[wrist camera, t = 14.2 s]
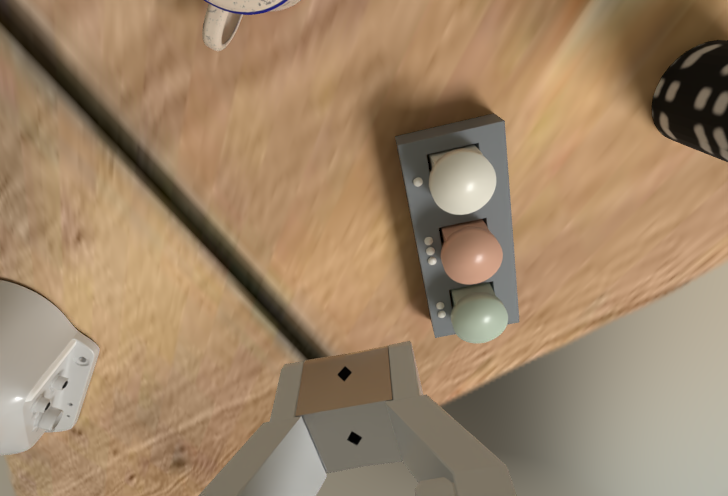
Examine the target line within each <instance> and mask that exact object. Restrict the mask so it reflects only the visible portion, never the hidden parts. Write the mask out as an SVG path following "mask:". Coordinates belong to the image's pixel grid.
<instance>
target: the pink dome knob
mask: <svg viewBox="0 0 728 496" xmlns="http://www.w3.org/2000/svg"><path fill="white" fill-rule="evenodd" d="M440 232H441V238H442V244H443V246H442V249H441V261H442V264H443V267H444V270H445V272H446V273H447V275H448V276H449V277H450V278H451V279H452V280H454V281H456V282H458V283H461V284H477V283H481V282H483V281H485V280H487V279H489V278H490V277H492V276H493V275H494V274H495V273H496V272H497V270H498V269H499V267H500V265H501V263H502V259H503V252H502V248H501V246H500V244H499V242H498V241H497V239H496V237H495V236H494V235H493V234H492V233H491V232H490V231H489V229H488V227H487V226H486V224H485V223H484V221H483V219H478V220H473V221H469V222H464V223H459V224H454V225H450V226H445V227H440Z"/></svg>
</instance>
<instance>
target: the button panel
mask: <svg viewBox="0 0 728 496" xmlns="http://www.w3.org/2000/svg"><path fill="white" fill-rule="evenodd" d="M395 139H396V144H397V149H398V154H399V159H400V164H401V169H402V174H403V180H404V185H405V190H406V195H407V200H408V205H409V210H410V215H411V220H412V226H413V231H414V236H415V241H416V246H417V251H418V256H419V261H420V266H421V272H422V277H423V282H424V287H425V292H426V297H427V302H428V307H429V313H430V318H431V322H432V326H433V331H434V335H435V338H437V337H442V336H448V335H453V334H456V333H455V331H454V328H453V325H452V322H451V311H452V309H453V307H451V301H450V294H449V290H451V289H456V288H461V287H466V286H471V285H477V284H482V283H487V282H489V283H490V285H491V287H492V289H493V291H494V293H495V295H496V297H498V298H499V299H500V300H501V301H502V303H503V305H504V307H505V309H506V311H507V314H508V323H507V324H512V323H518V322H519V311H518V297H517V284H516V270H515V257H514V243H513V230H512V216H511V202H510V189H509V175H508V162H507V148H506V135H505V121H504V120H503V119H501V118H500V117H498V116H497V115H496V114H490V115H485V116H481V117H477V118H473V119H468V120H464V121H460V122H455V123H451V124H447V125H443V126H438V127H434V128H430V129H425V130H421V131H417V132H412V133H408V134H404V135H400V136H395ZM471 144H474V145H475V146H476V147H477V148H478V149H479V150H480V152H481V153H482V155H483V156H484V157H485V158H486V159H487V160H488V161H489V162H490V163H491V165H492V166H493V168H494V170H495V173H496V187H495V191H494V193H493V195H492V197H491V198H490V200H489V201H488V202H487V203H486V204H485V205H484V206H483V207H482V208H480V209H479V210H477V211H475V212H472V213H469V214H464V215H456V214H451V213H448V212H446V211H444V210H443V209H441V208H440V207H439V206H438V205H437V204H436V203H435V201H434V199H433V197H432V194H431V192H430V188H429V175H430V173H429V167H428V160H427V154H431V153H435V152H440V151H444V150H449V149H453V148H457V147H462V146H466V145H471ZM478 219H483V221H484V223H485V224H486V226H487V227H488V229H489V231H490V232H491V233H492V234H493V235H494V236H495V237H496V239H497V241H498V242H499V244H500V246H501V248H502V252H503V259H502V263H501V265H500V267H499V269H498V270H497V272H496V273H495V274H494V275H493V276H492V277H490V278H489V279H487V280H485V281H483V282H481V283H477V284H461V283H458V282H456V281H454V280H452V279H451V278H450V277H449V276H448V275H447V273H446V272H445V270H444V267H443V264H442V261H441V249H442V246H441V240H440V234H439V228H440V227H445V226H450V225H454V224H459V223H464V222H469V221H473V220H478Z"/></svg>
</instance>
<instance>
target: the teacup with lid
mask: <svg viewBox="0 0 728 496" xmlns="http://www.w3.org/2000/svg"><path fill="white" fill-rule="evenodd" d="M204 1H206V2H208V3H209V5H208V9H207V12H206V15H205V19H204V24H203V33H202V34H203V41H204V43H205V45H206V46H208V47H209V48H211V49H213V50H215V51H221V50H223V49H224V48H225V47H226V46H227V45H228V44H229V43H230V41H231V40H232V38H233V37H234V35H235V33H236V31H237V29H238V26H239V24H240V21H241V19H242V16H243V15H252V14H260V13H264V12H268V11H279V10H283V9H286V8H289V7H291V6H293V5H295V4H297V3H298V2H299V1H301V0H204Z"/></svg>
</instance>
